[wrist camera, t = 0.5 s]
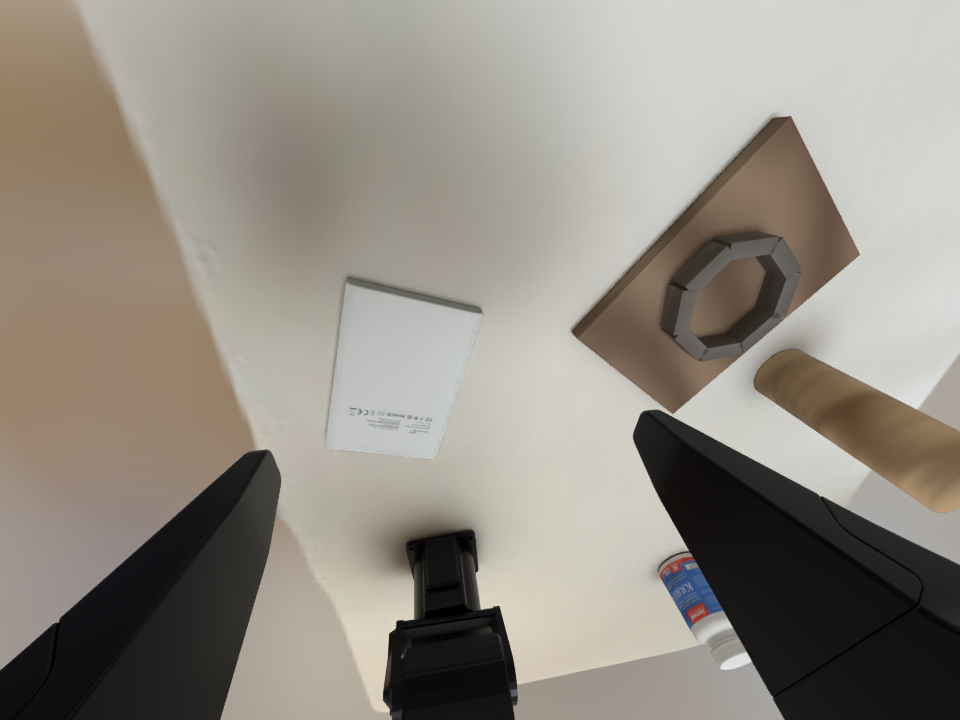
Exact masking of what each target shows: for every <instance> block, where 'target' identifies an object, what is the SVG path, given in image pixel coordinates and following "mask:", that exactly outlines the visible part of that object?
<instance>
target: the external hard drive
mask: <svg viewBox="0 0 960 720" xmlns="http://www.w3.org/2000/svg"><path fill="white" fill-rule="evenodd" d="M482 317H483V312H482V309H480V308H476V307H472V306H467V305H463V304H459V303H454V302H450V301H446V300H441V299H437V298H433V297H428V296H424V295H420V294H415V293H411V292H407V291H402V290H398V289H394V288H389V287H385V286H381V285H377V284H372V283H368V282H364V281H359V280H355V279H351V278H348V279H347V281H346V284H345V292H344V300H343V308H342V315H341V323H340V331H339V338H338V346H337V354H336V362H335V370H334V378H333V386H332V394H331V402H330V410H329V418H328V426H327V435H326V442H325V447H326V448H329V449H332V450H343V451H353V452H364V453H374V454H384V455H394V456H403V457H413V458H423V459H434V458H436V457H437V455H438V451H439V448H440V445H441V442H442V439H443V437H444V433H445V430H446V428H447V424H448V422H449V418H450V415H451V412H452V409H453V406H454V403H455V400H456V397H457V394H458V391H459V388H460V385H461V382H462V379H463V376H464V373H465V370H466V367H467V364H468V361H469V358H470V354H471V351H472V348H473V345H474V342H475V339H476V336H477V333H478V330H479V327H480V323H481V320H482Z"/></svg>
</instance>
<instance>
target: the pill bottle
mask: <svg viewBox="0 0 960 720" xmlns="http://www.w3.org/2000/svg"><path fill="white" fill-rule="evenodd" d="M659 575H660V577H661V579H662V581H663V583H664V584H665V586H666V588H667V590H668V591H669V593H670V595H671V597H672V598H673V600H674V602H675V604H676V605H677V607H678V609H679V611H680V612H681V614H682V616H683V618H684V619H685V621H686V623H687V625H688V627H689V628H690V630H691V632H692V633H693V635H694V637H695V638H696V640H697V641H698V642H700V643H701V644H704V645H709V646H710V647H711V653H712V656H713V658H714V659H715V661H716V662H717V664H718V665H719V667H720V668H721V669H722V670H728V669H734V668H737V667H740V666H743V665H745V664H747V663H749V662H751V659H750V657H749V655H748V654H747V652H746V650H745V648H744V647H743V645H742V643H741V641H740V640H739V638H738V636H737V634H736V632H735V631H734V629H733V627H732V625H731V624H730V622H729V620H728V618H727V617H726V615H725V613H724V611H723V610H722V608H721V606H720V604H719V602H718V601H717V599H716V597H715V595H714V594H713V592H712V590H711V588H710V587H709V585H708V583H707V581H706V580H705V578H704V576H703V574H702V572H701V571H700V569H699V567H698V565H697V564H696V562H695V560H694V558H693V557H692V555H691V553H683V554H679V555H676V556H674V557H672V558H670V559H669V560H667V561H666V562H665V563H664V564H663V565H662V566H661V567H660V569H659Z"/></svg>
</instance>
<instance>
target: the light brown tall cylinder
mask: <svg viewBox="0 0 960 720" xmlns="http://www.w3.org/2000/svg"><path fill="white" fill-rule="evenodd" d="M754 386H755V388H756V390H757V391H758V392H760V393H761V394H763V395H764V396H766V397H767V398H769V399H770V400H771V401H773V402H774V403H776V404H777V405H779V406H780V407H782V408H783V409H785V410H786V411H787V412H789V413H790V414H792V415H793V416H795V417H796V418H798V419H799V420H801V421H802V422H803V423H805V424H806V425H808V426H809V427H811V428H812V429H814V430H815V431H817V432H818V433H820V434H821V435H822V436H824V437H825V438H827V439H828V440H830V441H831V442H833V443H834V444H836V445H837V446H838V447H840V448H841V449H843V450H844V451H846V452H847V453H849V454H850V455H852V456H853V457H854V458H856V459H857V460H859V461H860V462H862V463H863V464H865V465H866V466H868V467H869V468H870V469H872V470H874V471H875V472H876V473H878V474H879V475H881V476H882V477H884V478H885V479H887V480H888V481H890V482H891V483H892V484H894V485H895V486H897V487H898V488H900V489H901V490H903V491H904V492H905V493H907V494H908V495H910V496H911V497H913V498H914V499H916V500H917V501H919V502H920V503H921V504H923V505H924V506H926V507H927V508H929V509H930V510H932V511H933V512H936V513H946V512H950V511H954V510H957V509H959V508H960V431H958V430H956V429H954V428H952V427H950V426H948V425H946V424H944V423H942V422H940V421H938V420H936V419H934V418H932V417H930V416H928V415H926V414H924V413H922V412H920V411H918V410H916V409H914V408H912V407H910V406H908V405H906V404H905V403H903V402H901V401H899V400H897V399H895V398H893V397H891V396H889V395H887V394H885V393H883V392H881V391H879V390H877V389H875V388H873V387H871V386H869V385H867V384H865V383H863V382H861V381H859V380H857V379H855V378H853V377H851V376H849V375H847V374H845V373H843V372H841V371H839V370H837V369H835V368H833V367H831V366H829V365H827V364H825V363H824V362H822V361H820V360H818V359H816V358H814V357H812V356H810V355H808V354H806V353H804V352H802V351H800V350H797V349H788V350H784V351H782V352H779V353H777V354H775V355H774V356H772V357H771V358H770V359H768V360H767V361H766V362H765V363H764V364H763V365H762V366H761V368H760V369H759V370H758V372H757V374H756V376H755V380H754Z"/></svg>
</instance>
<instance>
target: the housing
mask: <svg viewBox="0 0 960 720" xmlns="http://www.w3.org/2000/svg"><path fill="white" fill-rule="evenodd" d="M859 255H860V254H859V252H858V250H857V248H856V246H855V244H854V242H853V240H852V238H851V236H850V234H849V232H848V230H847V228H846V226H845V224H844V222H843V220H842V218H841V216H840V214H839V212H838V210H837V208H836V206H835V204H834V202H833V200H832V198H831V196H830V194H829V192H828V190H827V188H826V186H825V184H824V182H823V180H822V178H821V176H820V174H819V172H818V170H817V168H816V166H815V164H814V162H813V160H812V158H811V156H810V154H809V152H808V150H807V148H806V146H805V144H804V142H803V140H802V138H801V136H800V134H799V132H798V130H797V128H796V126H795V124H794V122H793V120H792V118H791V116H788V117H778V118H774V119H773V120H772V121H771V122H770V123H769V124H768V125H767V126H766V127H765V128H764V129H763V130H762V132H761V133H760V134H759V135H758V136H757V137H756V138H755V139H754V140H753V141H752V142H751V143H750V144H749V145H748V146H747V147H746V148H745V149H744V151H743V152H742V153H741V154H740V155H739V156H738V157H737V158H736V159H735V160H734V161H733V162H732V163H731V164H730V165H729V166H728V167H727V169H726V170H725V171H724V172H723V173H722V174H721V175H720V176H719V177H718V178H717V179H716V180H715V181H714V182H713V183H712V184H711V185H710V186H709V188H708V189H707V190H706V191H705V192H704V193H703V194H702V195H701V196H700V197H699V198H698V199H697V200H696V201H695V202H694V203H693V204H692V205H691V207H690V208H689V209H688V210H687V211H686V212H685V213H684V214H683V215H682V216H681V217H680V218H679V219H678V220H677V221H676V222H675V223H674V224H673V226H672V227H671V228H670V229H669V230H668V231H667V232H666V233H665V234H664V235H663V236H662V237H661V238H660V239H659V240H658V241H657V242H656V244H655V245H654V246H653V247H652V248H651V249H650V250H649V251H648V252H647V253H646V254H645V255H644V256H643V257H642V258H641V259H640V260H639V261H638V263H637V264H636V265H635V266H634V267H633V268H632V269H631V270H630V271H629V272H628V273H627V274H626V275H625V276H624V277H623V278H622V279H621V280H620V282H619V283H618V284H617V285H616V286H615V287H614V288H613V289H612V290H611V291H610V292H609V293H608V294H607V295H606V296H605V297H604V298H603V299H602V301H601V302H600V303H599V304H598V305H597V306H596V307H595V308H594V309H593V310H592V311H591V312H590V313H589V314H588V315H587V316H586V317H585V319H584V320H583V321H582V322H581V323H580V324H579V325H578V326H577V327H576V328H575V329H574V330H573V331H572V333H573V334H574V335H575V336H576V338H577V339H579V340H580V341H581V342H582V343H584V344H585V345H586V346H587V347H589V348H590V349H591V350H593V351H594V352H595V353H596V354H598V355H599V356H600V357H601V358H603V359H604V360H605V361H606V362H608V363H609V364H610V365H611V366H613V367H614V368H615V369H617V370H618V371H619V372H620V373H622V374H623V375H624V376H625V377H627V378H628V379H629V380H630V381H632V382H633V383H634V384H635V385H637V386H638V387H639V388H641V389H642V390H643V391H644V392H646V393H647V394H648V395H649V396H651V397H652V398H653V399H654V400H656V401H657V402H658V403H659V404H661V405H662V406H663V407H665V408H666V409H667V410H668V411H670V412H671V413H672V414H673V413H675V412H676V411H677V410H678V409H679V408H681V407H682V406H683V405H684V404H685V403H686V402H688V401H689V400H690V399H691V398H692V397H693V396H695V395H696V394H697V393H698V392H699V391H701V390H702V389H703V388H704V387H705V386H706V385H708V384H709V383H710V382H711V381H712V380H713V379H715V378H716V377H717V376H718V375H719V374H720V373H722V372H723V371H724V370H725V369H726V368H728V367H729V366H730V365H731V364H732V363H733V362H735V361H736V360H737V359H738V358H739V357H740V356H742V355H743V354H744V353H745V352H746V351H748V350H749V349H750V348H751V347H752V346H753V345H755V344H756V343H757V342H758V341H759V340H760V339H762V338H763V337H764V336H765V335H766V334H767V333H769V332H770V331H771V330H772V329H773V328H775V327H776V326H777V325H778V324H779V323H780V322H782V321H783V320H784V319H785V318H786V317H787V316H789V315H790V314H791V313H792V312H793V311H794V310H796V309H797V308H798V307H799V306H800V305H802V304H803V303H804V302H805V301H806V300H807V299H809V298H810V297H811V296H812V295H813V294H814V293H816V292H817V291H818V290H819V289H820V288H822V287H823V286H824V285H825V284H826V283H827V282H829V281H830V280H831V279H832V278H833V277H834V276H836V275H837V274H838V273H839V272H840V271H841V270H843V269H844V268H845V267H846V266H847V265H849V264H850V263H851V262H852V261H853V260H854V259H856V258H857V257H858V256H859Z"/></svg>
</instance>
